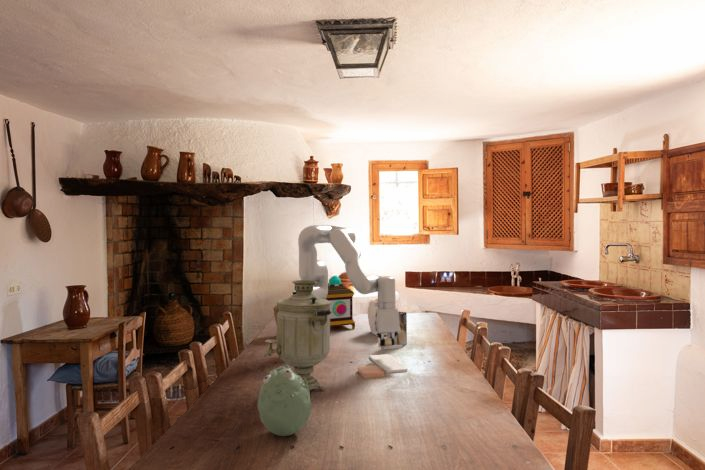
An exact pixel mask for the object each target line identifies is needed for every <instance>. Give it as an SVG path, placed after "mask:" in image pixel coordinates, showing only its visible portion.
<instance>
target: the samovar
mask: <svg viewBox="0 0 705 470" xmlns="http://www.w3.org/2000/svg"><path fill="white" fill-rule="evenodd" d="M291 283H293V284H294V291H293V292H291V293H292V295H291V296H290V297H286V298H281V299H279V300H276V302H275V303H276V305H277V307H278V309H279V312H278V313H277V325H276V339H274V338H268V339H266V340H264V341H265V343H269V346H268V347H269V348H268V350H267V351H265V352H264V354H263V355H262V358H267V356H272V355H273V353H276V355H278V358H279V359H280V360H282V361H283V362H284V363H285V364H286V365H288V366H289V367H293V372H294V373H295V374H296V375H300V377H301V378H302V380H304V379H306V380H307V384H308V388H309V391H312V390H314V389H316V388H317V389H319V390H321V391H322V392H323V391H325V390H326V389H325V387H324V386H321V383H319V381H318V379H316V378H315V377H314V376H313V375H311V373H313V372H314V366H317V365H319V364H320V363H321V362H322V361H324V360H325V359H326V358H327V357H328V355H329V353H330V348H331V347H330V343H331V339H330V338H331V333H330V332H331V327H330V314H331V313H332V312H331V311H330V310H329V307H330V304H331V302H330V301H328V300H326V299H321V298H318V297H317V296H315V295H313V294H312V291H313V285H314V284H315V283H316V281H312V280H301V279H300V280H298V279H296V280H292V282H291ZM274 343H276V348H275V349H274V348H273V344H274Z"/></svg>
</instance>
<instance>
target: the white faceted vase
mask: <svg viewBox="0 0 705 470" xmlns="http://www.w3.org/2000/svg"><path fill="white" fill-rule="evenodd" d="M377 301H378V297H374V298H372V299H370V300H369V303H368V307H367V319H368V326H369V329H370V332H371V334H372V335H374V334H373V333H372V331H373V329H374V327H375V315H376V309H377V308H378V307H377V306H375V303H377ZM395 308H397V305H396V304H395ZM377 333H379V332H378V331H377ZM384 336H387V333H384Z"/></svg>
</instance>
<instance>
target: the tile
mask: <svg viewBox="0 0 705 470" xmlns="http://www.w3.org/2000/svg"><path fill="white" fill-rule="evenodd" d="M357 372H358V373H359V374H360V375H361V376H362V377H363V379H374V378H375V377H376V378H384V377H385V371H384V370H382V369H381V368H380V367H379V366H378V365H377V364H375V365H363V366H361V365H360V366H357Z"/></svg>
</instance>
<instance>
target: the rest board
mask: <svg viewBox="0 0 705 470" xmlns="http://www.w3.org/2000/svg"><path fill="white" fill-rule="evenodd" d="M368 357H369V359H370V360H371V361H372V362H374V363H375V365H377V366H378V367H379V368H380V369H381V370H382V371H383V372H384V373H385V374H391V373H393V374H394V373H402V372H404V373H405V372H408V368H407V367H406V366H404V365H403V364H402V363H400V362H399V361H398V360H396V359H395V358H394V357H392V355H390V354H389V353H383V354H382V353H381V354H372V355H371V354H370V355H369V356H368Z"/></svg>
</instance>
